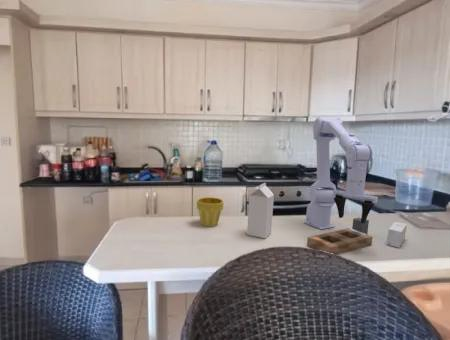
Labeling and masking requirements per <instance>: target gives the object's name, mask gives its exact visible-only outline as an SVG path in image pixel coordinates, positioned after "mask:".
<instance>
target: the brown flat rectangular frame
mask: <svg viewBox="0 0 450 340" xmlns="http://www.w3.org/2000/svg"><path fill="white" fill-rule="evenodd" d="M373 238H374V237H373V236H371V235H369V234H368V233H367V234H365V233H362V232H359V231H356V230H354V229H352V228H350V227H347V228H342V229H339V230H333V231H329V232H324V233H320V234H315V235H311V236H308V237H307V238H306V239H307V240H306V241H307V242H306V246H307V247H309V248H311V249H314V250H315V249H317V250H316V251H318V250H322V251H326V252H329V253H333V254H337V255H340V254H344V253H347V252H350V251H351V252H352V251H355V250H358V249H362V248H366V247H368V246H371V245H373ZM337 255H336V256H337Z"/></svg>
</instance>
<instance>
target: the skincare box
mask: <svg viewBox="0 0 450 340" xmlns="http://www.w3.org/2000/svg"><path fill="white" fill-rule="evenodd" d="M406 231H407V223H402V222H398V221H394V222H393V223H392V224H391V225H390V227H389V228H388V231H387V238H386V245H387V246H390V247H395V248H400V247H401V246H402V244H403V242H404V240H405V239H406V238H405V237H406Z"/></svg>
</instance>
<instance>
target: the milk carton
mask: <svg viewBox="0 0 450 340" xmlns="http://www.w3.org/2000/svg"><path fill="white" fill-rule="evenodd" d="M274 195H275V194H274V192H272V191H271V190H270V189H269V187H268V186H267V182H264V183H261V184H260V185H258V186H255V187H254V188H253V192H252V193H251V194H249V196H248V197H249V199H248V216H247V227H246V228H247V230H246V231H247V233H246V235H247V236H252V237H254V238H255V237H256V238H261V239H267V238H268V236H270V235H271V233H272V227H273V212H274V202H275V199H274V197H275V196H274Z"/></svg>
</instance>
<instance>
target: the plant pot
mask: <svg viewBox="0 0 450 340" xmlns="http://www.w3.org/2000/svg"><path fill="white" fill-rule="evenodd" d="M196 209H197V210H198V214H199V219H200V224H201V225H202V226H203V227H210V228H211V227H215V226H218V225H219V221H220V217H221V212H222V211H223V209H224V199H222V198H219V197H213V196H212V197H210V196H209V197H208V196H206V197H199V198H198V199H197V200H196Z"/></svg>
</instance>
